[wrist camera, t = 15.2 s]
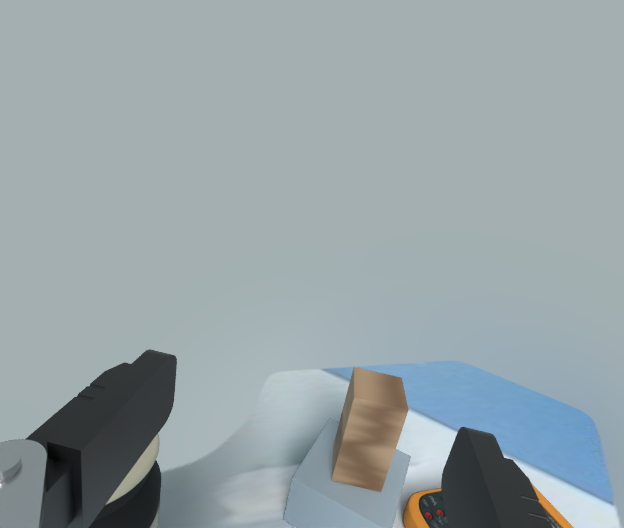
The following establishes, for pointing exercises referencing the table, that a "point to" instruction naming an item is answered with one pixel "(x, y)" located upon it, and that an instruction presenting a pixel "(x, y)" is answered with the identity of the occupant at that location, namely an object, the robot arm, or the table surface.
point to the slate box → (341, 491)
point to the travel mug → (135, 495)
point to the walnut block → (369, 429)
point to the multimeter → (432, 517)
